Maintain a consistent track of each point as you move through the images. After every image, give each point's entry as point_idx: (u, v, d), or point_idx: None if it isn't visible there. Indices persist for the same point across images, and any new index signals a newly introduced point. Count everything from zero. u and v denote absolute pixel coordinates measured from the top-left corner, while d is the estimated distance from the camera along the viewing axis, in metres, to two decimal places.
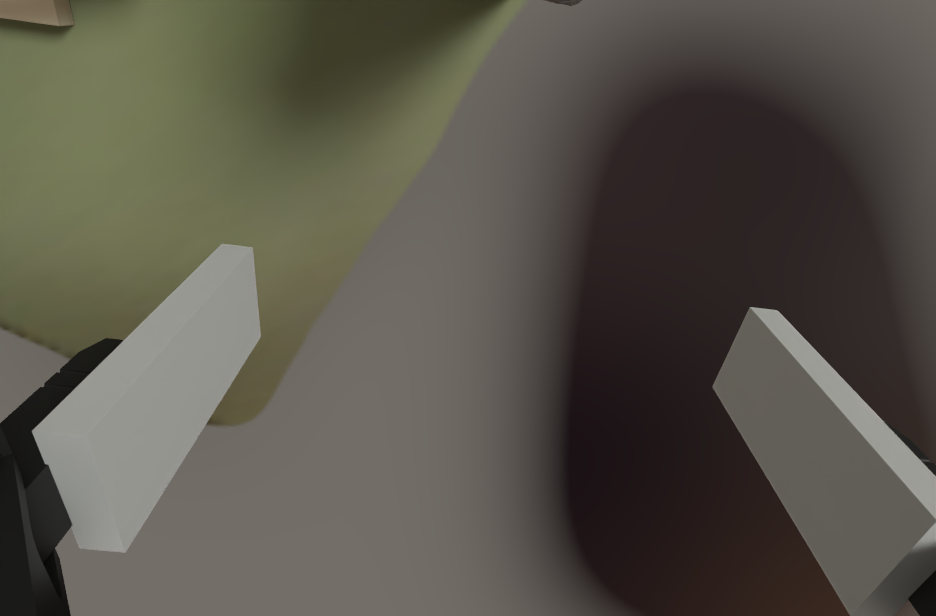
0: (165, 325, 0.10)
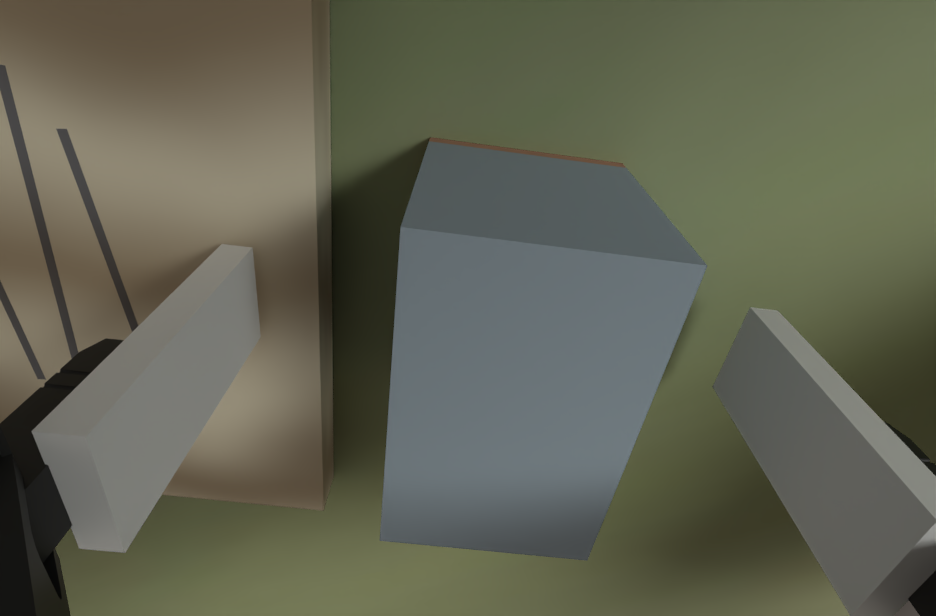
0: (165, 325, 0.10)
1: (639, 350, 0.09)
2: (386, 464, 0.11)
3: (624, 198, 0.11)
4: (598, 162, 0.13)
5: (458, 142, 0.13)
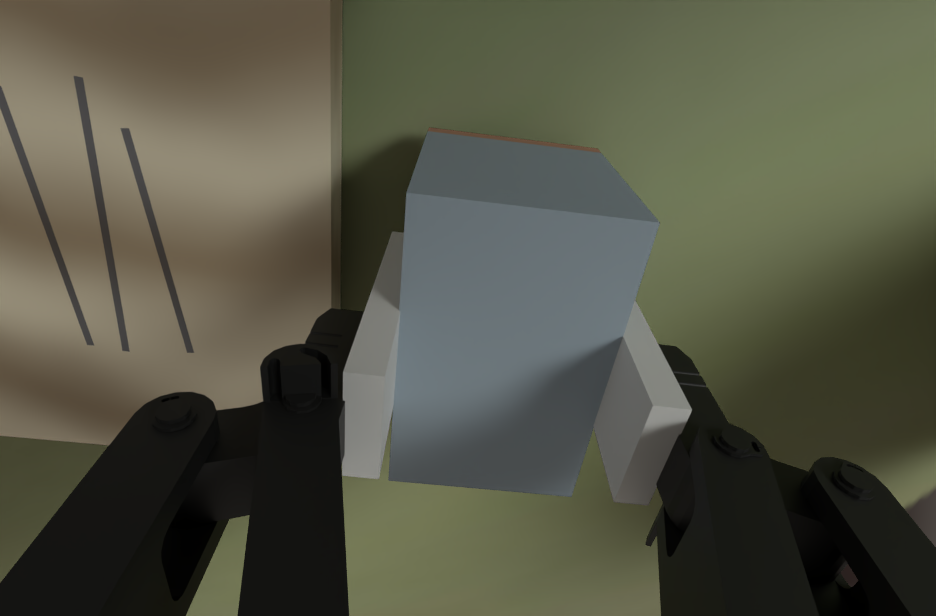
0: (389, 296, 0.12)
1: (607, 298, 0.11)
2: (394, 407, 0.13)
3: (596, 175, 0.13)
4: (577, 148, 0.15)
5: (453, 132, 0.15)
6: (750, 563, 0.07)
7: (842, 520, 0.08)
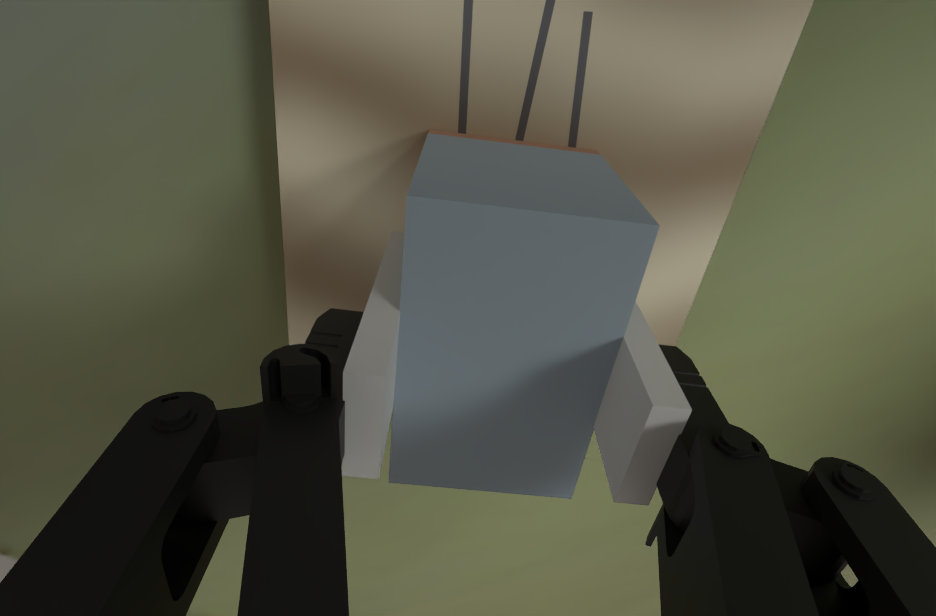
0: (389, 296, 0.12)
1: (607, 300, 0.11)
2: (394, 409, 0.13)
3: (596, 177, 0.13)
4: (576, 150, 0.15)
5: (453, 134, 0.15)
6: (750, 563, 0.07)
7: (842, 520, 0.08)
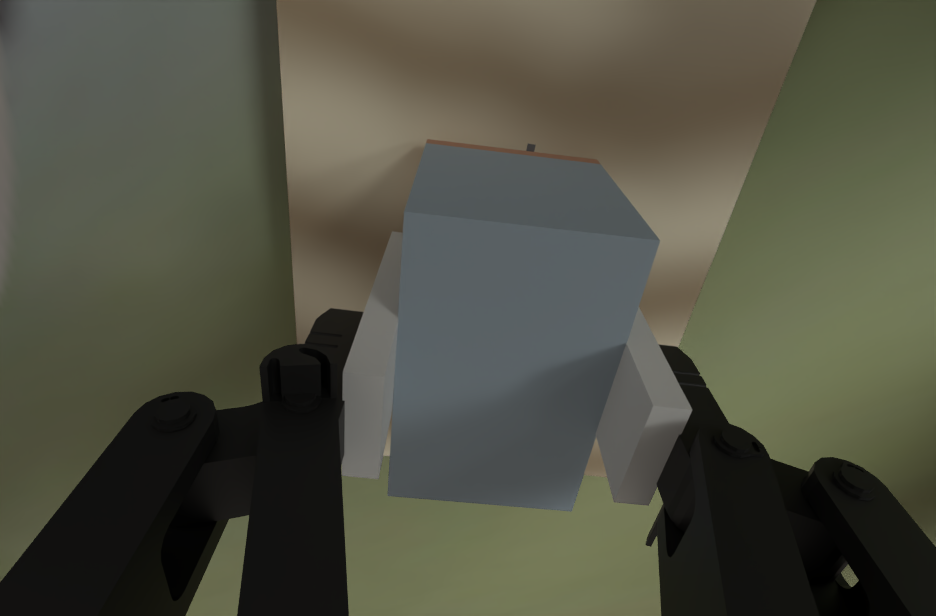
0: (389, 296, 0.12)
1: (607, 315, 0.11)
2: (393, 423, 0.13)
3: (596, 188, 0.13)
4: (576, 159, 0.15)
5: (452, 143, 0.15)
6: (750, 563, 0.07)
7: (842, 520, 0.08)
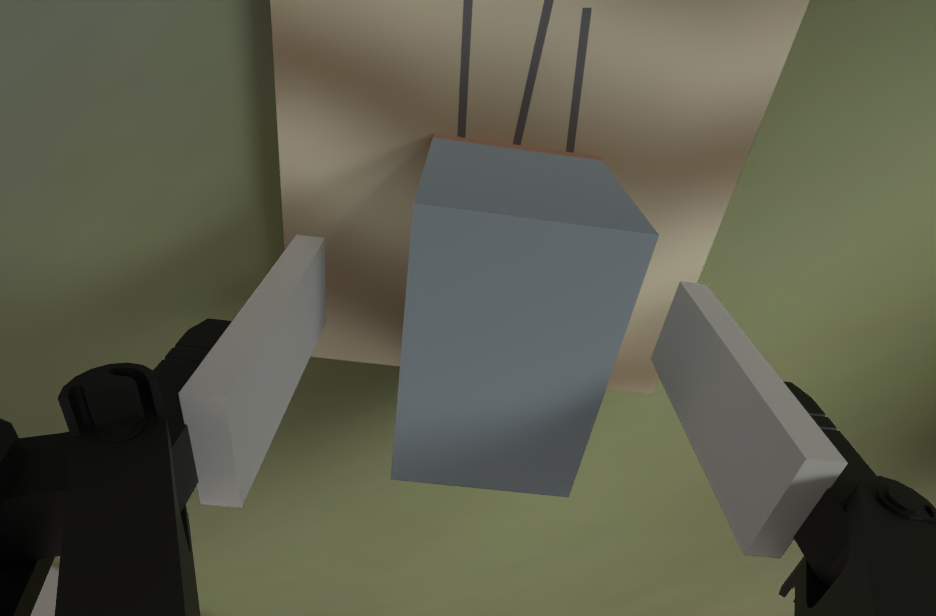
0: (266, 305, 0.11)
1: (607, 306, 0.12)
2: (397, 408, 0.13)
3: (598, 184, 0.13)
4: (579, 155, 0.15)
5: (458, 138, 0.15)
6: None
7: None
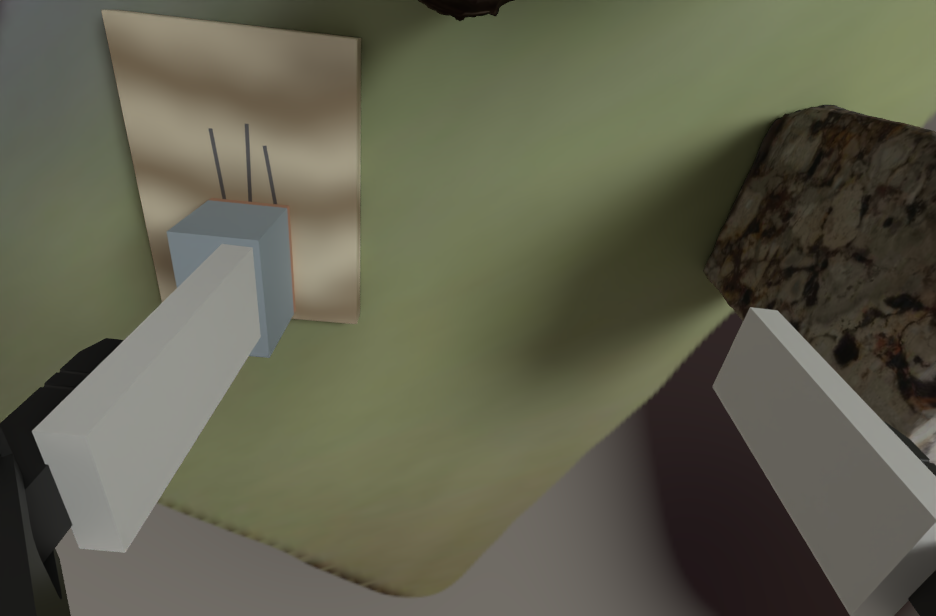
0: (165, 325, 0.10)
1: None
2: None
3: (264, 220, 0.32)
4: (277, 206, 0.34)
5: (221, 200, 0.34)
6: None
7: None
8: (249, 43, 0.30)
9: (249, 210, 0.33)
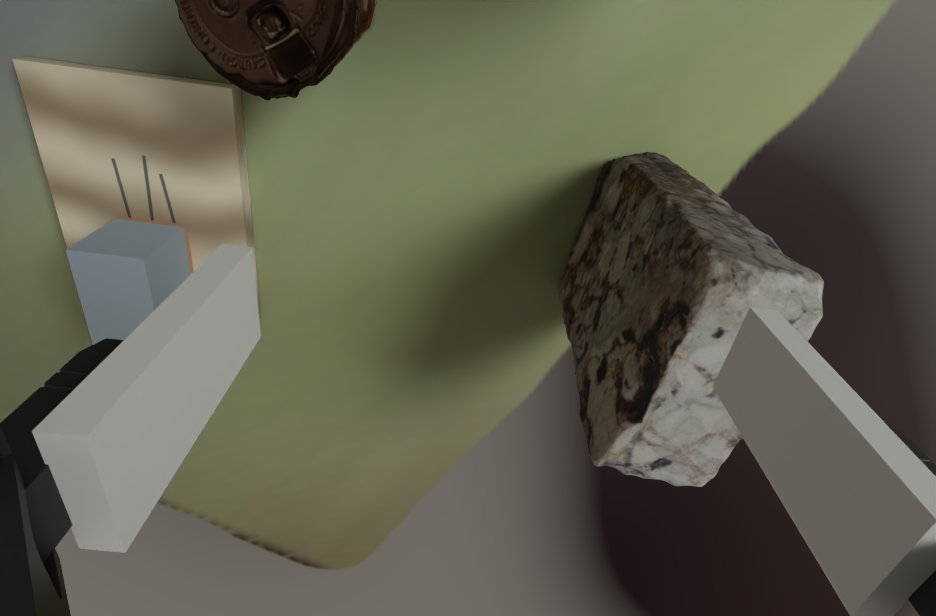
0: (165, 325, 0.10)
1: (139, 281, 0.36)
2: (85, 318, 0.37)
3: (157, 239, 0.37)
4: (175, 225, 0.40)
5: (127, 218, 0.39)
6: None
7: None
8: (140, 89, 0.35)
9: (147, 229, 0.38)
